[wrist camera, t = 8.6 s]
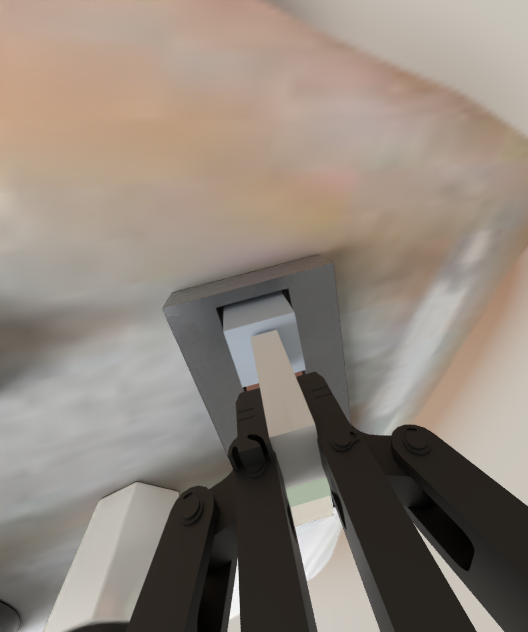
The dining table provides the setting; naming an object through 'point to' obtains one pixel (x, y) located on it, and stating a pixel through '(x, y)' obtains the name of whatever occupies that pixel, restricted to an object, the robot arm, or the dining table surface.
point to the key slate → (260, 332)
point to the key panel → (211, 346)
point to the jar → (112, 561)
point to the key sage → (308, 492)
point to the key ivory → (312, 511)
